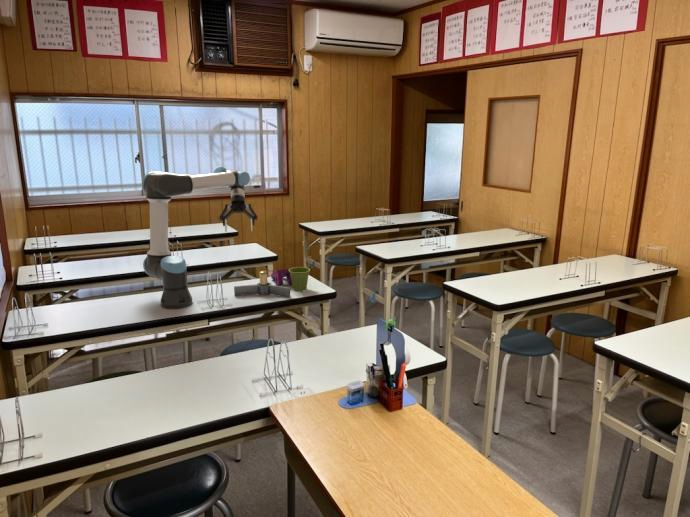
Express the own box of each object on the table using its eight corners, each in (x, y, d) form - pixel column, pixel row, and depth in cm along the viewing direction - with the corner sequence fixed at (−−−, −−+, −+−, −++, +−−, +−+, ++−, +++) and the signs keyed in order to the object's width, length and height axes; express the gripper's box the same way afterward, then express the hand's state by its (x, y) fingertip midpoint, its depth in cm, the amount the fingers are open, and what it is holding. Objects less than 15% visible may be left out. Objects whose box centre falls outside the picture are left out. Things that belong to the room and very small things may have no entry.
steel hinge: (233, 295, 263) (233, 286, 262) (238, 290, 272) (238, 281, 271) (289, 297, 261) (289, 288, 260) (292, 291, 271) (292, 282, 269)
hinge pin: (259, 294, 266) (258, 272, 263) (261, 291, 270) (260, 270, 267) (267, 294, 266) (266, 272, 263) (268, 292, 269) (267, 270, 266)
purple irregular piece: (271, 290, 292) (279, 285, 275) (269, 275, 293) (277, 270, 277) (286, 288, 296) (295, 283, 279) (284, 274, 297) (293, 268, 281)
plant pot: (314, 287, 277) (314, 268, 274) (303, 294, 267) (303, 273, 264) (296, 284, 282) (295, 265, 279) (284, 290, 272) (284, 271, 269)
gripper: (260, 202, 284) (262, 233, 273) (215, 202, 279) (215, 234, 268) (260, 193, 277) (262, 225, 267) (214, 194, 272) (214, 226, 262)
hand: (239, 230), depth 268 cm, fingers open, 13 cm apart
